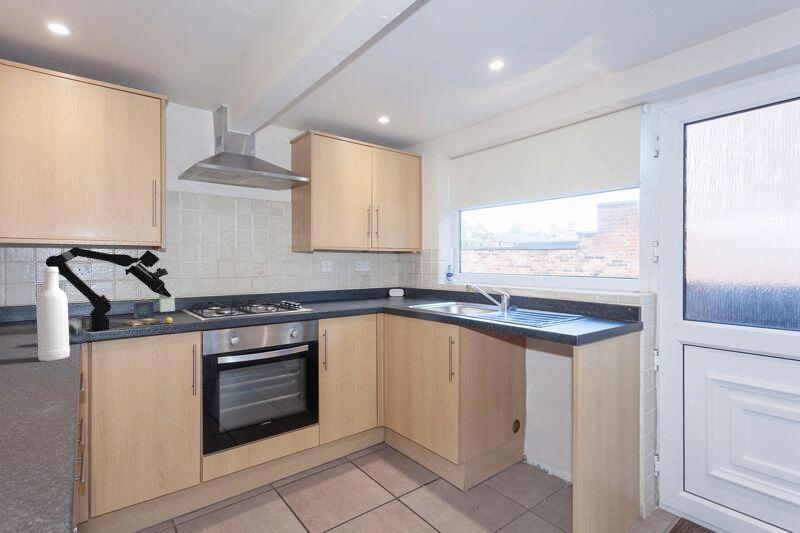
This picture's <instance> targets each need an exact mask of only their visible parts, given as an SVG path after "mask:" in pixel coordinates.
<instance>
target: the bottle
mask: <svg viewBox="0 0 800 533" xmlns="http://www.w3.org/2000/svg"><path fill="white" fill-rule="evenodd" d="M42 274H43V289H42V290H41V291H40V292H38V294H37V297H36V298H35V304H36V308H35V310H36V330H37V331H36V332H37V357H38V360H39V361H40V362H52V361H59V360H64V359H67V358H69V357H70V355H71V347H70V345H69V325H68V316H69V305H68V302H69V299H68V296H67V294H66V292H65V291H64V290H63V289H61V288H60V282H59V281H60V279H59V270H58V267H48V266H44V267H43V271H42Z"/></svg>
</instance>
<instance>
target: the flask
mask: <svg viewBox="0 0 800 533" xmlns="http://www.w3.org/2000/svg"><path fill="white" fill-rule="evenodd" d="M154 314H155V312H154V302H153V301H152V300H146V298H145V297H143V298H142V299H141V301H134V302H133V319H134V318H143V319H154V318H153V317H155V316H154Z"/></svg>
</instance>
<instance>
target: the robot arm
mask: <svg viewBox="0 0 800 533" xmlns="http://www.w3.org/2000/svg"><path fill="white" fill-rule="evenodd" d="M77 257H81V258H88V259H93V260H96V261H97V260H99V261H103V262H108V263H111V264H114V265H118V266H120V267H123V268H125V269H124V271H125V276H128V275H129V274H131V275H133V276H134V277H135V278H136V279H137V280H139V281H140V282H141V283H142V284H144V285H145V286H147V288H148V289H149V290H150V291H152V292H153V293H155V294H158V295H159V294H161V295H164V296H167V297H171V294H170V293H169V292H168V291H169V290H167V289H166V286H165V281H163V280H162V279H160V278H161V277H164V276H168V275H169V273H168V270H167V268H165V267H164V268H161V267H158V268H156V271H154V272H152V271H149V270H148V267H149V268H152V267H153V266H154V265H156V264H157V263H158V262H160V260H161V259H160V258H159V257H158V256H157V255H156V254H154V253H153V252H151V251H150V250H146V251H145V252H144V253H143V254H142V255H141V256H139V257H133V256H131V255H129V254H119V253H107V252H103V251H102V252H101V251H96V250H91V249H86V248H80V247H77V246H75V247H72V248H71V249H68V250H66V251H63V253H60V254H59V255H50V256H48V257H47V258H46V260H45V265H46V267H58V270H59V273H58V275H60V276H62V277H63V278H65V280H66V281H68V282H69V283H70V284H71V285H72V286H73V287H74V288H76V289H77V290H78V292H80V293H81V294H82V295H83V296H84V297H85V298H86V299H87V300H88V301H89V302H90V304H91V306H92V307H93V309H92V310H91V311H90V313H89V317H88V323H89V324H88V325H89V326H88V327H89V328H88V329H87V330H88V331H89V330H90V331H89V332H99V331H98V330H101V331H106V330H107V329H108V330H110V329H111V328H110V318H109V317H108V316H109V315H106V314H107V313H108V312H110V311H111V309H112V304H111V300H110V299H109V298H107V297H106V295H105V294H102V295H99V294H98V293H96V292H95V291H94V290H93V289H92V288H91V287H90V286H89V285H88V284H87V283H85V282H84V281H83V280H82V279H81V277H79V276H78V275H77V274H76V273H75V272H74V271H73V270H72V269H71V267H70V266H69V264H68V263H67V262H69V261H71V260H73V259H75V258H77ZM135 263H136V265H133V264H135ZM126 267H128V269H127V268H126Z"/></svg>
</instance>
